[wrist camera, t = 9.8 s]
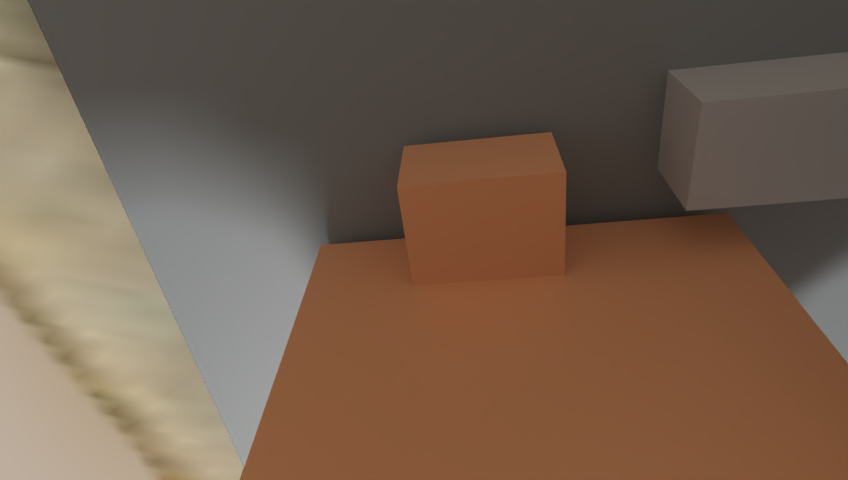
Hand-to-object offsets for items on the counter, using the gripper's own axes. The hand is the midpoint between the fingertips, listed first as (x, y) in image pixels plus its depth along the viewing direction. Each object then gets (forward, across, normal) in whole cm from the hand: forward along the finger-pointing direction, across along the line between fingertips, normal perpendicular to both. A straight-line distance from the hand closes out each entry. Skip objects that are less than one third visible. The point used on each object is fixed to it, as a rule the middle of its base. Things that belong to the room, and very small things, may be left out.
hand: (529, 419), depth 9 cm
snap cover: (+1, 0, 0) cm, 1 cm away
